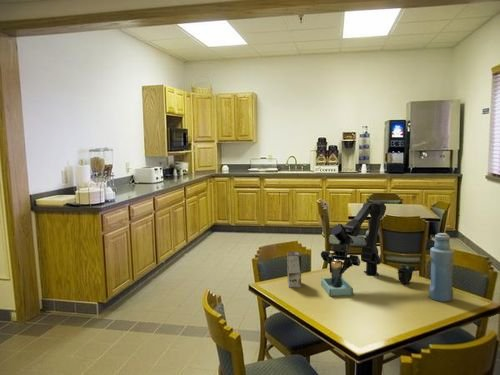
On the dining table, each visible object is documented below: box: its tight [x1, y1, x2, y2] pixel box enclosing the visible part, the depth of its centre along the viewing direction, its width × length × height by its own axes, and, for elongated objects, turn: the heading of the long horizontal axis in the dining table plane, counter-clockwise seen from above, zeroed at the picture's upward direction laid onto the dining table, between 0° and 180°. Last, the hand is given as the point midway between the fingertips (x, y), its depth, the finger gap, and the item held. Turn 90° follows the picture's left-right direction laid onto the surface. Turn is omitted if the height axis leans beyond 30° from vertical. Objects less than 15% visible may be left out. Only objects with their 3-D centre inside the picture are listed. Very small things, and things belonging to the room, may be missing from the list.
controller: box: [397, 264, 416, 285], centre depth 202 cm, size 4×12×10 cm, turn 132°
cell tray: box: [320, 276, 354, 297], centre depth 193 cm, size 16×11×4 cm
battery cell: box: [330, 259, 343, 288], centre depth 193 cm, size 5×5×13 cm
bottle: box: [428, 232, 455, 303], centre depth 180 cm, size 10×10×30 cm
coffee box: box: [286, 250, 302, 288], centre depth 201 cm, size 9×6×16 cm
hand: (335, 273), depth 191 cm, fingers closed on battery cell, 5 cm apart
